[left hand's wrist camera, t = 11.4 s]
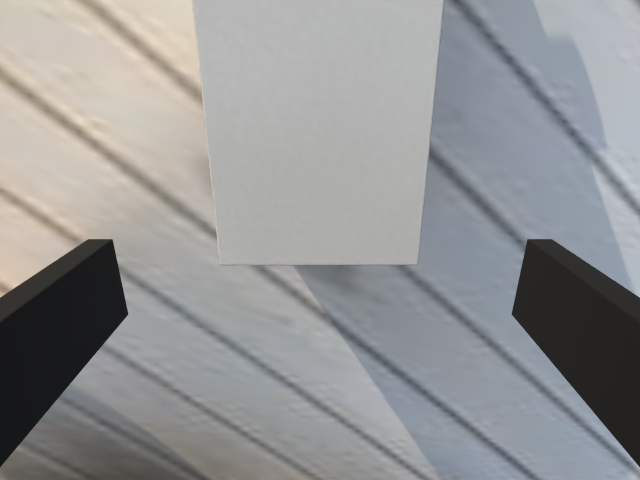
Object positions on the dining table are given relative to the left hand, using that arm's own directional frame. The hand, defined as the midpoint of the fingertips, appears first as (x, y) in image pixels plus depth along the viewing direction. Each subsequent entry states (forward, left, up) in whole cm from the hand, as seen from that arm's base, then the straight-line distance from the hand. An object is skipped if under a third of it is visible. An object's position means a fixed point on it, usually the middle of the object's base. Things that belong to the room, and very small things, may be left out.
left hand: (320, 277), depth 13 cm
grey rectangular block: (+4, +6, -18) cm, 19 cm away
